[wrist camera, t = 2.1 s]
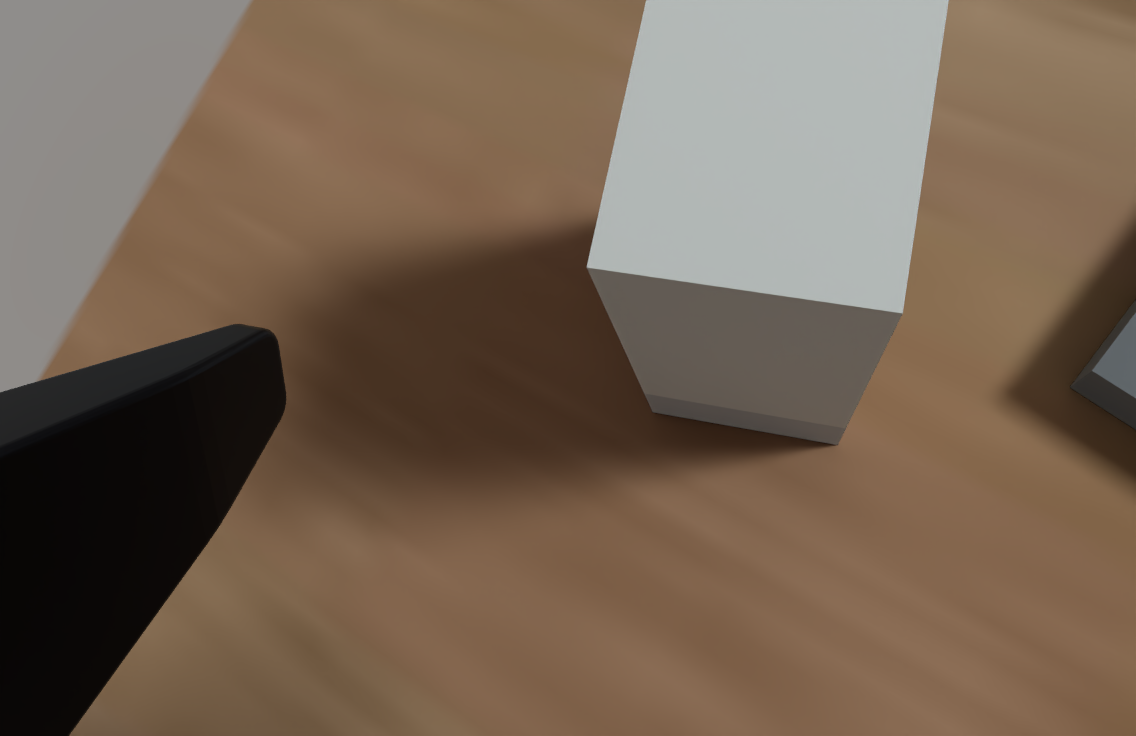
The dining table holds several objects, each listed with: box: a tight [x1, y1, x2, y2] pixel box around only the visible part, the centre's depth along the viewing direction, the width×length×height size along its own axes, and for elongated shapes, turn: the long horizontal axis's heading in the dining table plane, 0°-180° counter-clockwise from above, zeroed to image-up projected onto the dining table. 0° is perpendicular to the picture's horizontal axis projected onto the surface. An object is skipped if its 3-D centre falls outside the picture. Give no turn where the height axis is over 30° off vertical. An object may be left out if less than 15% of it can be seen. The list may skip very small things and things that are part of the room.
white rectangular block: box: [587, 0, 949, 445], centre depth 19 cm, size 6×4×10 cm
